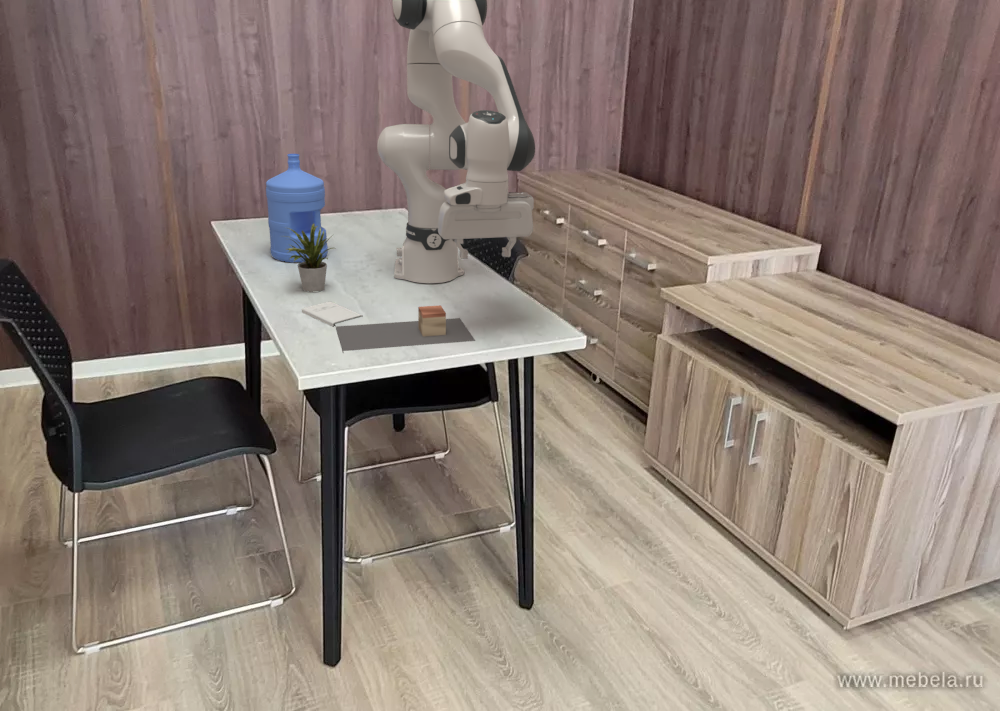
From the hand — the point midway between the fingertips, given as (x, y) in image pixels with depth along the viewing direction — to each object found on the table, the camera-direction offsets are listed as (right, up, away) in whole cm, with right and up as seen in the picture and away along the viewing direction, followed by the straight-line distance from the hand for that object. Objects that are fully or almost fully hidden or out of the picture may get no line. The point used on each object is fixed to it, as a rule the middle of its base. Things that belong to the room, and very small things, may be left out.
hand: (485, 257), depth 175 cm
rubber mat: (-17, -17, +2) cm, 24 cm away
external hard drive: (-35, -13, +13) cm, 39 cm away
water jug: (-53, +7, +55) cm, 77 cm away
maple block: (-12, -16, +3) cm, 20 cm away
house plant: (-44, -4, +30) cm, 54 cm away
